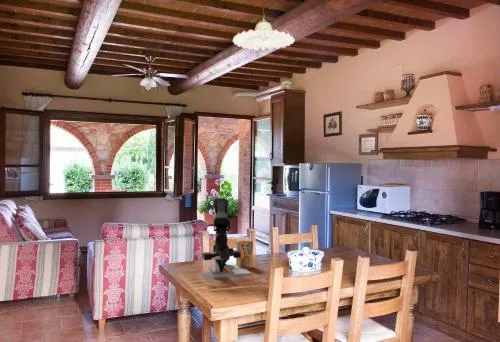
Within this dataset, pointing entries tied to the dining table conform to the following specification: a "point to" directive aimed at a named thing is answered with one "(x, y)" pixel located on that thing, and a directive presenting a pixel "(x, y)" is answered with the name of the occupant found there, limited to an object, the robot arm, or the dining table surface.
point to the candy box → (245, 253)
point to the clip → (227, 270)
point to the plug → (216, 268)
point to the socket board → (225, 275)
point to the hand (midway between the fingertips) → (221, 272)
